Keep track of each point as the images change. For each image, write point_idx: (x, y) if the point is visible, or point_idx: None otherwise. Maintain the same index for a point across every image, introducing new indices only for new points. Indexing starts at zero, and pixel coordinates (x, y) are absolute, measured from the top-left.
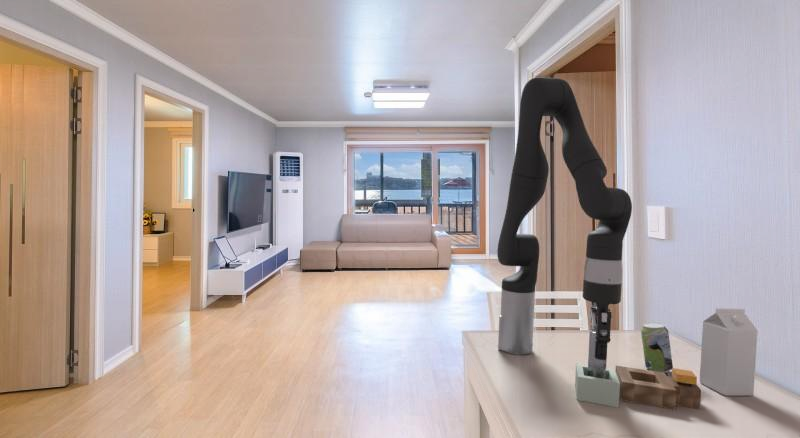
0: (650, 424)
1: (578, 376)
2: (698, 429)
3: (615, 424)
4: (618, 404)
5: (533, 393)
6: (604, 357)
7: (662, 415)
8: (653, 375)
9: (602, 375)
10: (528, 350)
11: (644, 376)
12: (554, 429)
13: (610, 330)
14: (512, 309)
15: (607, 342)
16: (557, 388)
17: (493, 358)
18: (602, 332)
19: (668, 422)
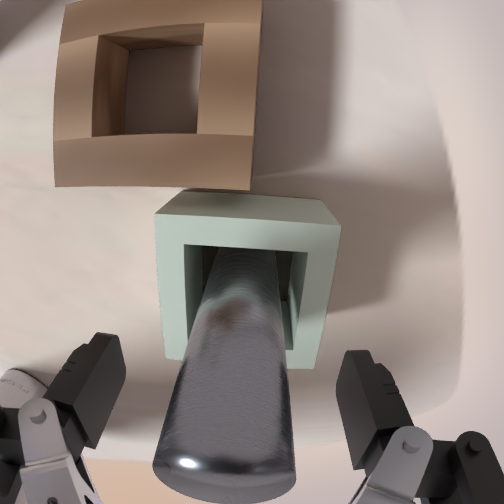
0: (409, 131)
1: (310, 367)
2: (386, 3)
3: (431, 236)
4: (323, 203)
5: (296, 404)
6: (382, 367)
7: (331, 65)
8: (98, 40)
9: (276, 287)
10: (37, 389)
11: (101, 74)
12: (455, 360)
13: (395, 501)
14: (25, 501)
15: (419, 432)
16: None
17: (121, 446)
18: (205, 465)
19: (377, 67)
